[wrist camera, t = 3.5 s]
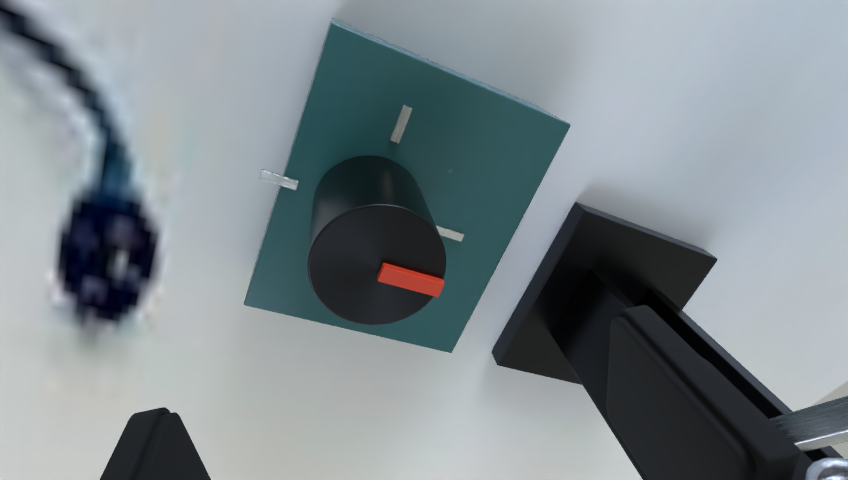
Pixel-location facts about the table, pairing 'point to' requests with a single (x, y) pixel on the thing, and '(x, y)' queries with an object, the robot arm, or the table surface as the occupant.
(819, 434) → the toaster lever
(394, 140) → the dial panel
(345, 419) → the table surface
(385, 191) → the knob
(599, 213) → the black upright frame
